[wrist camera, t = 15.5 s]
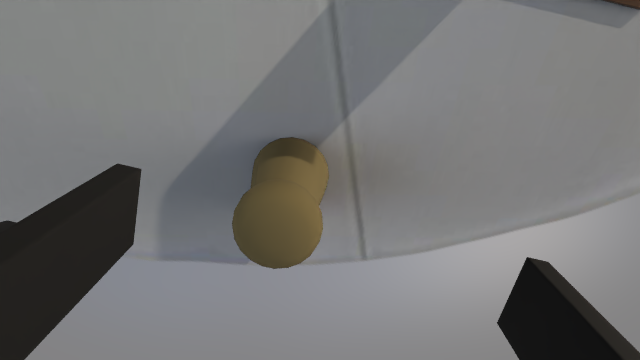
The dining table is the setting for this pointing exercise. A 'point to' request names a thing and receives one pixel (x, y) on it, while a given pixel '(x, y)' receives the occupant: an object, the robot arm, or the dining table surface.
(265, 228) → the wooden peg doll
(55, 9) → the dining table surface
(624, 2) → the strip
